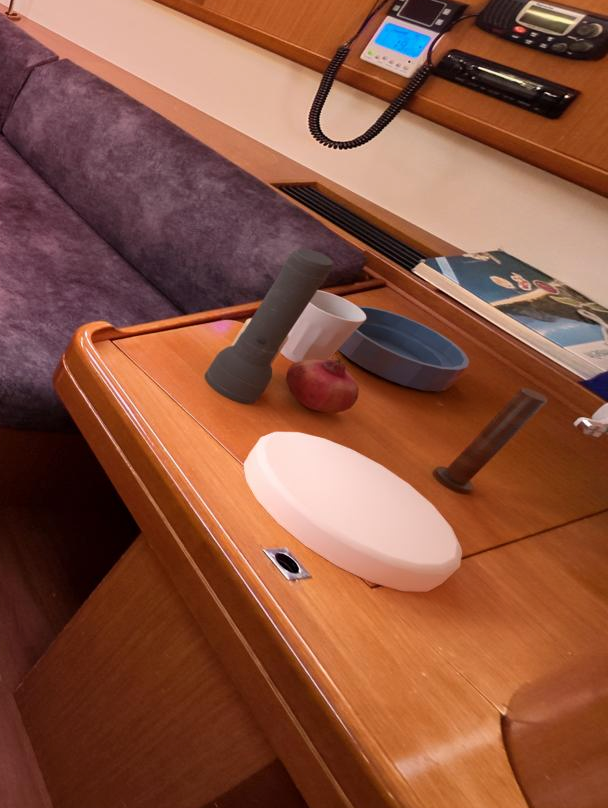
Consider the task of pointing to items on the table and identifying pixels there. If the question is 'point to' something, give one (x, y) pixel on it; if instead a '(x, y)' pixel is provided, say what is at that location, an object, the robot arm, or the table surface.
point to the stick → (490, 441)
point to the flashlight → (268, 328)
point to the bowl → (404, 351)
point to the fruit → (322, 385)
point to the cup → (322, 328)
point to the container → (352, 511)
